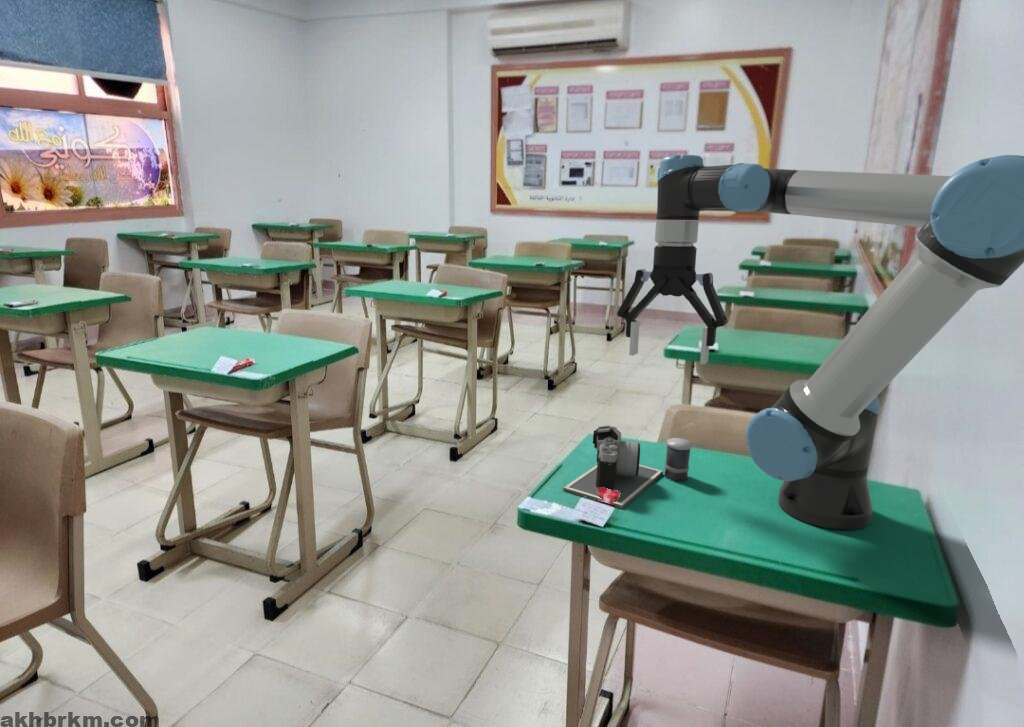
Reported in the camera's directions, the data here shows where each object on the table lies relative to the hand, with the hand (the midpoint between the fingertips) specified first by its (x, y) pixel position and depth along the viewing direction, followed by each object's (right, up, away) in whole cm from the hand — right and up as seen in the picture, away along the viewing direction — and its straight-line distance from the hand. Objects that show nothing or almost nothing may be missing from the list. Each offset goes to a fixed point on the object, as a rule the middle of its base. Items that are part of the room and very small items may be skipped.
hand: (667, 358), depth 123 cm
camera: (-10, -23, +3) cm, 25 cm away
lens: (+3, -23, +6) cm, 24 cm away
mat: (-10, -24, +2) cm, 26 cm away
